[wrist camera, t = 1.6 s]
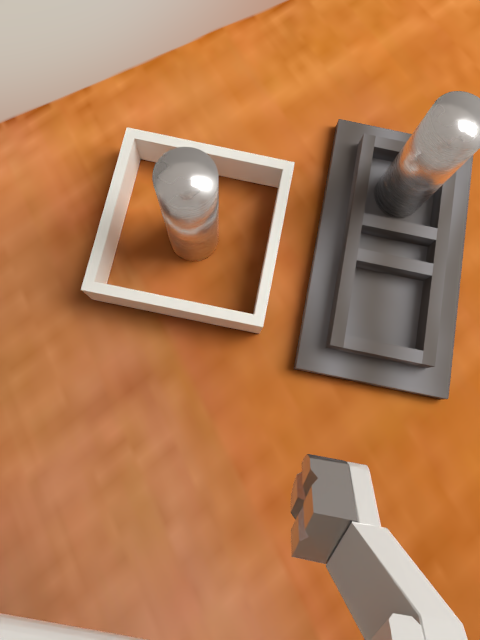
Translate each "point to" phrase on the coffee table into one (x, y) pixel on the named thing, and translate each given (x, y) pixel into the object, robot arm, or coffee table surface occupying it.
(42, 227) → the coffee table surface
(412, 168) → the seated billet
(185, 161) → the ball
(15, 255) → the coffee table surface
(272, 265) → the white square frame
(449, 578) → the coffee table surface
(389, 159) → the tray
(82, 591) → the coffee table surface
